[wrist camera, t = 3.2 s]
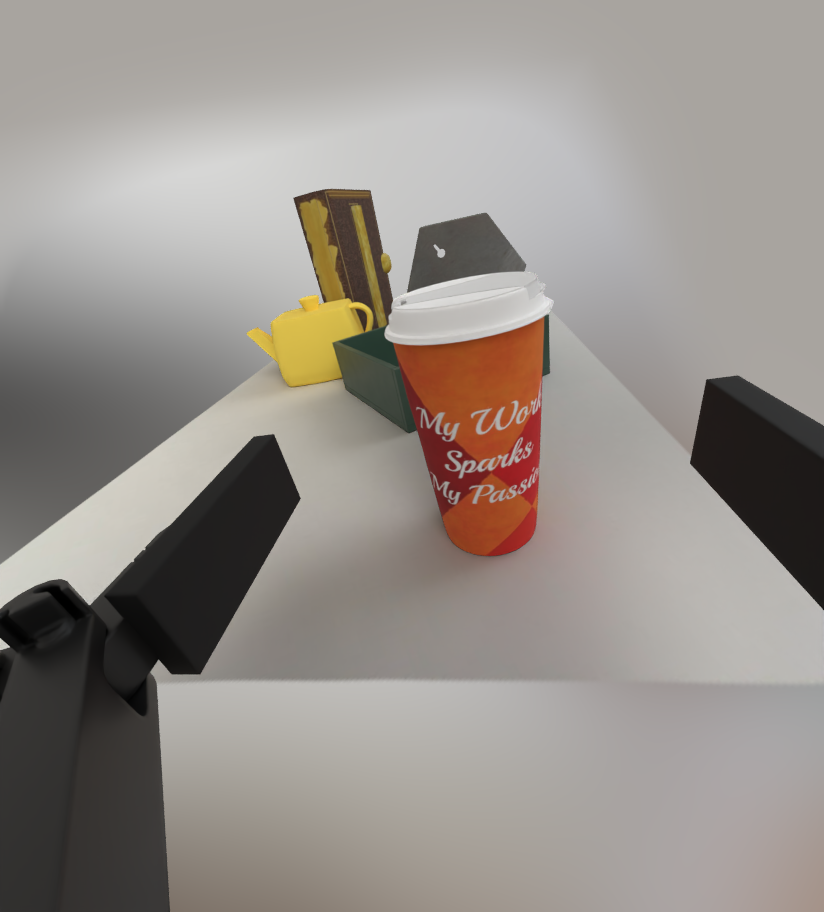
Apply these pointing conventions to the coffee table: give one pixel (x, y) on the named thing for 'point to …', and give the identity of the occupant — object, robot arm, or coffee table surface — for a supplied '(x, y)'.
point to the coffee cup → (477, 400)
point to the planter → (462, 251)
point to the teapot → (311, 338)
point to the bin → (387, 373)
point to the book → (347, 250)
